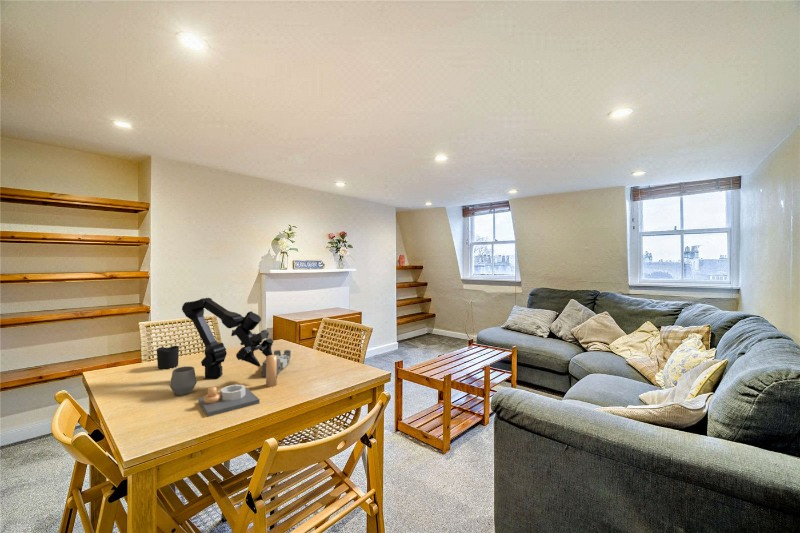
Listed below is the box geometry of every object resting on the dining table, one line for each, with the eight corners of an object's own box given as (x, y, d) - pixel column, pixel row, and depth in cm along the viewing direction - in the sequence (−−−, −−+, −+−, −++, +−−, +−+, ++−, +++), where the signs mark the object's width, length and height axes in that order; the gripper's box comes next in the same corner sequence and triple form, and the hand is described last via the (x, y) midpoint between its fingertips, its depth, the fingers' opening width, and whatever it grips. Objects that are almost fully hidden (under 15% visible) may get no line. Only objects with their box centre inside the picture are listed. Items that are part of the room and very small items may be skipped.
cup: (172, 390, 146) (172, 367, 146) (198, 387, 149) (198, 364, 149) (167, 398, 137) (167, 374, 137) (194, 395, 141) (194, 371, 140)
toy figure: (293, 348, 195) (282, 362, 165) (293, 359, 195) (282, 376, 165) (272, 348, 193) (257, 362, 164) (272, 360, 193) (257, 377, 163)
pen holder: (167, 363, 181) (167, 345, 181) (183, 364, 180) (183, 346, 180) (152, 369, 172) (152, 349, 172) (168, 370, 171) (168, 350, 171)
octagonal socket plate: (198, 402, 134) (198, 385, 134) (246, 390, 146) (246, 375, 146) (207, 416, 122) (207, 398, 122) (259, 403, 134) (259, 386, 134)
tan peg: (264, 387, 151) (264, 357, 150) (267, 383, 155) (267, 355, 155) (275, 386, 151) (275, 357, 151) (277, 383, 155) (277, 354, 155)
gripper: (241, 329, 146) (263, 357, 143) (270, 321, 164) (290, 346, 161) (226, 346, 148) (247, 373, 145) (256, 336, 166) (275, 361, 163)
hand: (266, 362), depth 154 cm, fingers open, 9 cm apart
